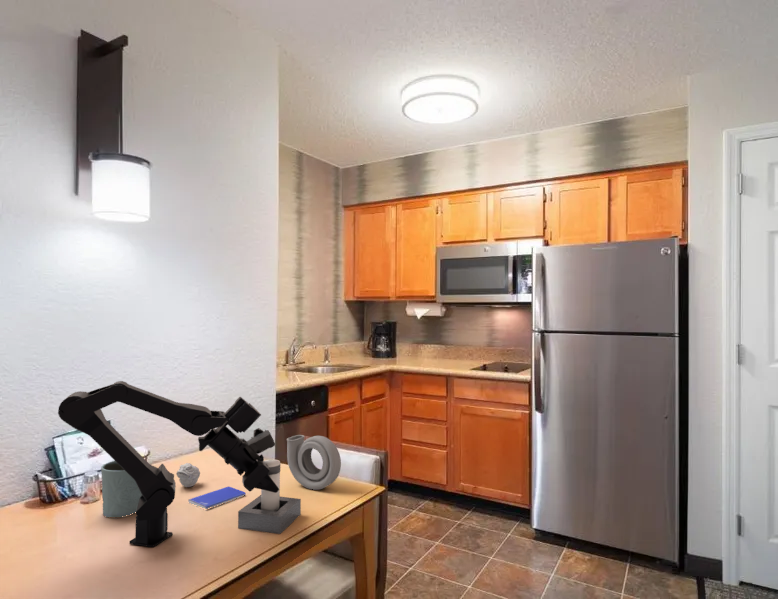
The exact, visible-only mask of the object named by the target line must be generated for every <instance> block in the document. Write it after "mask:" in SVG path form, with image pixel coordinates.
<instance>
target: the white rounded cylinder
mask: <svg viewBox="0 0 778 599" xmlns="http://www.w3.org/2000/svg"><path fill="white" fill-rule="evenodd" d="M263 462H264V463H265V464H267V465H268V467H269V472H268V475H269V476H270V477H271V479H272V480H273V481H274V483H275V484H276V485H277V487H278V488H279V491H278V492H277V493H275V492H270V491H266V490H262V489H260V495H261V510H266V511H274V512H277V511H278V510H279V504H280V497H281V494H280V490H281V489H280V488H281V485H280V484H281V483H280V482H281V480H280V479H281V461H280V460H278V459H273V458H272V459H264V461H263Z"/></svg>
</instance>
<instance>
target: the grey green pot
mask: <svg viewBox="0 0 778 599" xmlns="http://www.w3.org/2000/svg"><path fill="white" fill-rule="evenodd" d="M100 471H101V472H100V473H101V487H102V488H101V497H102V498H101V499H102V502H103V503H102V515H103V516H104V517H105V516H106V517H105V518H107V517H122V516H126V515H130V514H132V513H135V512H136V510H137V506H138V501H139V498H140V497H141V496H142V494H141V492H140V490H139V488H138V486H137V484H136V482H135V480H134V479H133V478H132V477H131V476H130V475H129V474H128V473H127V472H126V471H125V470H124V469H123V468H122V467H121V466H120V465H119V464H118V463H117V462H116V461H115V460H111V461H108V462H106V463H104V464H102V466H101V468H100ZM135 514H136V513H135ZM130 516H131V515H130ZM122 518H123V517H122Z"/></svg>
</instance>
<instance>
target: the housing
mask: <svg viewBox="0 0 778 599" xmlns="http://www.w3.org/2000/svg"><path fill="white" fill-rule="evenodd" d="M301 502H302V499H301V498H298V497H297V498H295V497H287V496H286V497H285V496H280V504H279V510H278V511H277V512H274V511H266V510H261V494H260V495H259V496H257V497H256V498H255V499H253V500H251V501H250V502H249V503H247V504H246V505H245V506H244V507H242V508H240V509H239V510H238V511H237V520H238V521H237V528H238V529H242V530H249V531H257V532H261V533H262V532H263V533H271V534H276V535H277V534H278V535H281V533H283V532H284V531H285V530H286V529H287V528H288V527H290V525H292V523H293V522H295V521H296V520H297V519H298V518H299V517H300V516H301V515H302V514H301V512H302V511H301V509H302V508H301V507H302V504H301ZM298 516H299V517H298ZM297 517H298V518H297ZM296 518H297V519H296ZM295 519H296V520H295ZM294 520H295V521H294Z"/></svg>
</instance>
